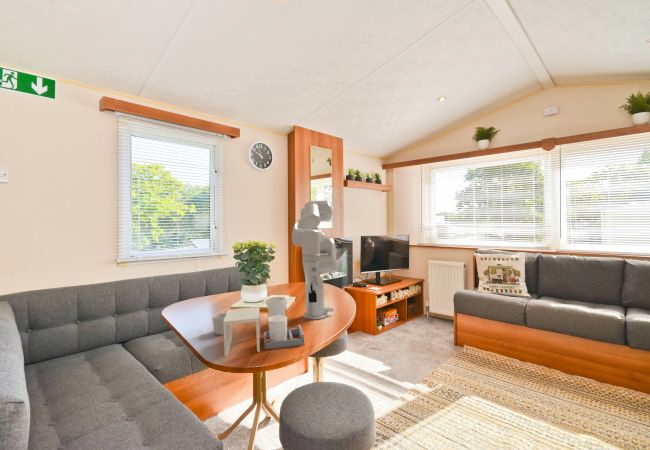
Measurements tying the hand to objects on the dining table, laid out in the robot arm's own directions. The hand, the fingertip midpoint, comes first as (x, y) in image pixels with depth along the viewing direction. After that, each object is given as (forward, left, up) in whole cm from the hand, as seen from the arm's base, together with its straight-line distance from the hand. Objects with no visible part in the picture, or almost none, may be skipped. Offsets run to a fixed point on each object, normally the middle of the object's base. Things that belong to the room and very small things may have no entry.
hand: (312, 301), depth 129 cm
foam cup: (+14, -19, -16) cm, 29 cm away
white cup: (+15, 0, -16) cm, 22 cm away
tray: (+13, 0, -15) cm, 20 cm away
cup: (+39, -19, -16) cm, 47 cm away
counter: (+28, 0, -16) cm, 32 cm away
